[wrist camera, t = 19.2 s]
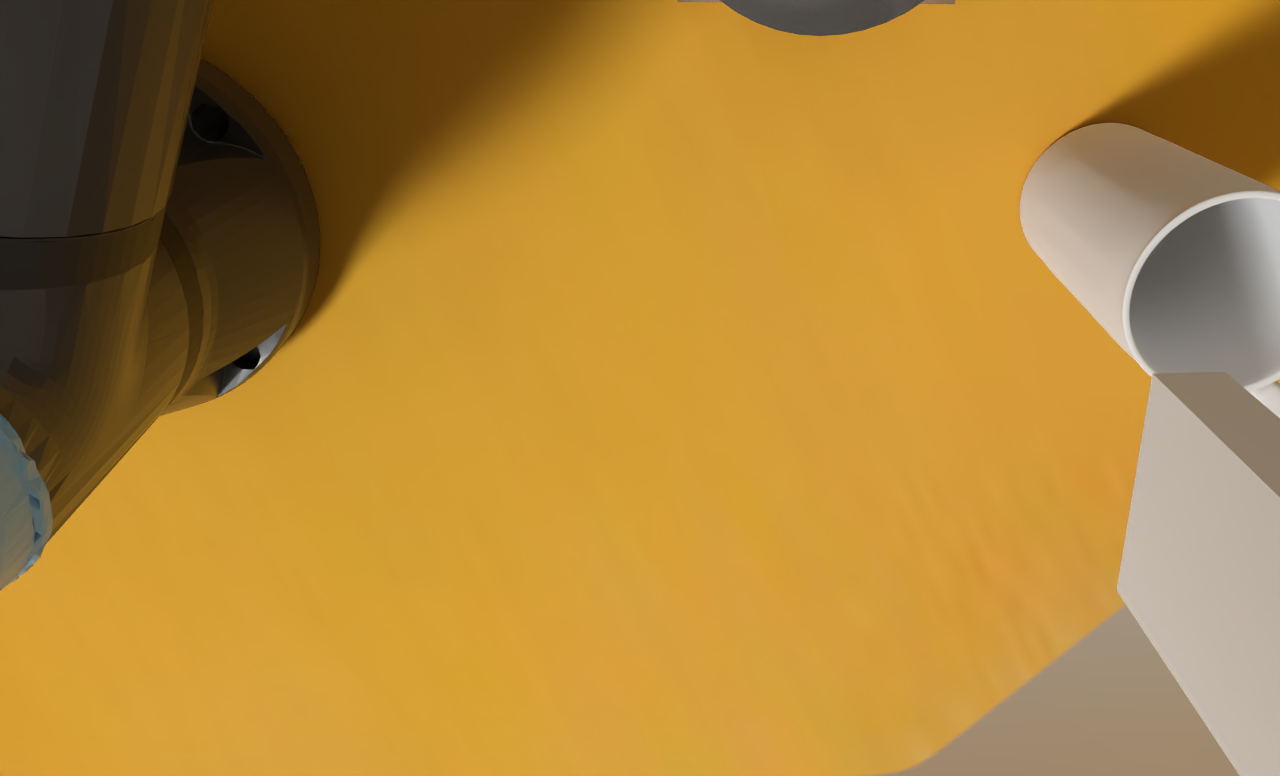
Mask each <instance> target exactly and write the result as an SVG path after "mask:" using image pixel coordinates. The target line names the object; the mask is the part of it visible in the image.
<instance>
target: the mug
mask: <svg viewBox="0 0 1280 776" xmlns="http://www.w3.org/2000/svg"><path fill="white" fill-rule="evenodd" d="M1020 220H1021V225H1022V229H1023V232H1024V235H1025V237H1026V239H1027V241H1028V243H1029V245H1030V246H1031V248H1032V249H1033V250H1034V252H1035V253H1036V254H1037V255H1038V256H1039V257H1040V258H1041V259H1042V261H1043V262H1044V263H1045V264H1046V265H1047V267H1048V268H1049V269H1050V270H1051V272H1052V273H1053V274H1054V275H1055V276H1056V277H1057V278H1058V279H1059V280H1060V281H1061V282H1062V283H1063V285H1064V286H1065V287H1066V288H1067V289H1068V290H1069V291H1070V292H1071V293H1072V294H1073V295H1074V296H1075V297H1076V298H1077V300H1078V301H1079V302H1080V303H1081V304H1082V305H1083V306H1084V307H1085V308H1086V309H1087V310H1088V312H1089V313H1090V314H1091V315H1092V316H1093V317H1094V318H1095V319H1096V320H1097V321H1098V322H1099V324H1100V325H1101V326H1102V327H1103V328H1104V329H1105V330H1106V331H1107V332H1108V333H1109V335H1110V336H1111V337H1112V338H1113V339H1114V340H1115V341H1116V342H1117V343H1118V344H1119V345H1120V346H1121V347H1122V348H1123V349H1124V350H1125V351H1126V352H1127V353H1128V354H1129V355H1130V356H1131V357H1132V358H1133V359H1135V360H1136V361H1137V362H1138V364H1139V365H1140V366H1141V367H1142V368H1143V369H1144V371H1145V372H1146V373H1148V374H1149V375H1150V376H1151V377H1152V374H1156V373H1191V372H1226V373H1227V374H1228V375H1229V376H1231V377H1232V378H1233V379H1234V380H1235V381H1236V382H1238V383H1239V384H1240V385H1241V386H1242V387H1244V388H1245V389H1246V390H1247V391H1248V392H1249V393H1251V394H1252V395H1253V396H1254V397H1255V398H1256V399H1258V400H1259V401H1260V402H1261V403H1262V404H1264V405H1265V406H1266V407H1267V408H1268V409H1269V410H1271V411H1272V412H1273V413H1274V414H1275V415H1276V416H1278V417H1279V418H1280V384H1279V383H1278V382H1277V380H1279V379H1280V191H1278V190H1276V189H1274V188H1272V187H1270V186H1268V185H1266V184H1264V183H1261V182H1259V181H1257V180H1255V179H1252V178H1250V177H1248V176H1246V175H1243V174H1241V173H1239V172H1236V171H1234V170H1232V169H1230V168H1227V167H1225V166H1223V165H1221V164H1218V163H1216V162H1214V161H1212V160H1209V159H1207V158H1205V157H1203V156H1200V155H1198V154H1196V153H1194V152H1191V151H1189V150H1187V149H1185V148H1183V147H1180V146H1178V145H1176V144H1174V143H1172V142H1170V141H1167V140H1165V139H1163V138H1160V137H1158V136H1155V135H1153V134H1151V133H1148V132H1146V131H1144V130H1142V129H1139V128H1137V127H1134V126H1130V125H1126V124H1121V123H1100V124H1093V125H1089V126H1085V127H1082V128H1079V129H1077V130H1075V131H1072V132H1070V133H1068V134H1067V135H1065V136H1063V137H1062V138H1060V139H1059V140H1057V141H1056V142H1055V143H1053V144H1052V145H1051V146H1050V147H1049V148H1048V149H1047V150H1046V151H1045V152H1044V153H1043V154H1042V155H1041V156H1040V157H1039V158H1038V160H1037V161H1036V162H1035V164H1034V165H1033V167H1032V169H1031V170H1030V172H1029V174H1028V176H1027V178H1026V181H1025V183H1024V186H1023V190H1022V194H1021V199H1020Z"/></svg>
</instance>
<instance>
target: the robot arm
mask: <svg viewBox="0 0 1280 776" xmlns="http://www.w3.org/2000/svg"><path fill="white" fill-rule="evenodd" d="M212 4H213V0H0V591H1V590H2V589H3V588H4V587H5V586H7V585H8V584H9V583H11V582H13V581H15V580H17V579H18V578H19V576H20V575H22V574H24V573H25V572H26V571H28V570H29V569H30V568H31V567H32V566H33V564H34V563H35V562H36V561H37V560H38V559H39V558H40V557H41V555H42V552H43V549H44V546H45V544H46V543H47V542H48V541H49V540H50V539H51V538H52V536H53V535H54V534H55V533H56V532H57V531H58V530H59V529H60V527H61V526H62V525H63V524H64V523H65V522H66V521H67V520H68V518H69V517H70V516H71V515H72V514H73V513H74V512H75V511H76V509H77V508H78V507H79V506H80V505H81V504H82V503H83V502H84V500H85V499H86V498H87V497H88V496H89V495H90V494H91V492H92V491H93V490H94V489H95V488H96V487H97V486H98V485H99V483H100V482H101V481H102V480H103V479H104V478H105V477H106V476H107V474H108V473H109V472H110V471H111V470H112V469H113V468H114V467H115V465H116V464H117V463H118V462H119V461H120V460H121V459H122V458H123V456H124V455H125V454H126V453H127V452H128V451H129V450H130V449H131V447H132V446H133V445H134V444H135V443H136V442H137V441H138V439H139V438H140V437H141V436H142V435H143V434H144V433H145V432H146V430H147V429H148V428H149V427H150V426H151V425H152V424H153V423H154V421H155V420H156V419H157V418H158V417H159V416H162V415H165V414H169V413H172V412H175V411H179V410H182V409H186V408H189V407H193V406H196V405H199V404H202V403H205V402H208V401H211V400H213V399H216V398H218V397H220V396H222V395H224V394H226V393H228V392H230V391H232V390H233V389H235V388H236V387H238V386H240V385H241V384H243V383H244V382H245V381H247V380H248V379H250V378H251V377H252V376H254V375H255V374H256V373H257V372H258V371H259V370H261V369H262V368H263V367H264V366H265V365H266V364H267V363H268V362H269V361H270V360H271V359H272V357H273V356H274V355H275V354H276V352H277V351H278V350H279V349H280V347H281V346H282V345H283V344H284V342H285V341H286V340H287V339H288V337H289V336H290V335H291V334H292V332H293V331H294V329H295V328H296V326H297V325H298V323H299V322H300V320H301V318H302V316H303V314H304V313H305V310H306V308H307V306H308V304H309V301H310V298H311V296H312V293H313V290H314V286H315V282H316V278H317V272H318V266H319V256H320V233H319V223H318V216H317V210H316V206H315V201H314V197H313V194H312V191H311V187H310V184H309V182H308V179H307V177H306V174H305V171H304V169H303V167H302V165H301V163H300V161H299V158H298V157H297V155H296V153H295V151H294V149H293V148H292V146H291V144H290V143H289V141H288V139H287V138H286V136H285V135H284V133H283V132H282V130H281V129H280V128H279V126H278V125H277V124H276V122H275V121H274V120H273V119H272V117H271V116H270V115H269V114H268V113H267V112H266V110H265V109H264V108H263V107H262V106H261V105H260V104H259V103H258V102H257V101H256V100H255V99H254V98H253V97H252V96H251V95H250V94H249V93H248V92H247V91H246V90H244V89H243V88H242V87H241V86H240V85H239V84H237V83H236V82H235V81H234V80H232V79H231V78H230V77H228V76H227V75H225V74H224V73H223V72H221V71H220V70H218V69H217V68H215V67H214V66H212V65H210V64H209V63H207V62H205V61H204V60H202V59H201V54H202V50H203V45H204V41H205V36H206V32H207V27H208V23H209V18H210V13H211V9H212ZM1117 592H1118V593H1119V595H1120V596H1121V598H1122V599H1123V601H1124V602H1125V604H1126V605H1127V607H1128V608H1129V610H1130V611H1131V613H1132V614H1133V616H1134V617H1135V619H1136V620H1137V622H1138V623H1139V625H1140V626H1141V628H1142V629H1143V631H1144V632H1145V634H1146V635H1147V637H1148V638H1149V640H1150V641H1151V643H1152V644H1153V646H1154V647H1155V649H1156V650H1157V652H1158V653H1159V655H1160V656H1161V658H1162V659H1163V661H1164V662H1165V664H1166V665H1167V667H1168V668H1169V670H1170V671H1171V673H1172V674H1173V676H1174V677H1175V679H1176V680H1177V682H1178V683H1179V685H1180V686H1181V688H1182V689H1183V691H1184V693H1185V694H1186V696H1187V697H1188V698H1189V700H1190V702H1191V703H1192V705H1193V706H1194V708H1195V709H1196V711H1197V712H1198V713H1199V715H1200V716H1201V718H1202V720H1203V721H1204V722H1205V724H1206V726H1207V727H1208V729H1209V730H1210V732H1211V733H1212V735H1213V736H1214V738H1215V739H1216V741H1217V742H1218V744H1219V745H1220V747H1221V748H1222V749H1223V751H1224V753H1225V754H1226V756H1227V757H1228V759H1229V760H1230V762H1231V763H1232V765H1233V766H1234V768H1235V769H1236V771H1237V772H1238V774H1239V775H1240V776H1280V418H1279V417H1278V416H1276V415H1275V414H1274V413H1273V412H1272V411H1271V410H1269V409H1268V408H1267V407H1266V406H1265V405H1264V404H1262V403H1261V402H1260V401H1259V400H1258V399H1256V398H1255V397H1254V396H1253V395H1252V394H1251V393H1249V392H1248V391H1247V390H1246V389H1245V388H1244V387H1242V386H1241V385H1240V384H1239V383H1238V382H1236V381H1235V380H1234V379H1233V378H1232V377H1231V376H1229V375H1228V374H1227V373H1226V372H1191V373H1156V374H1152V380H1151V386H1150V392H1149V398H1148V404H1147V410H1146V417H1145V423H1144V429H1143V435H1142V441H1141V447H1140V453H1139V459H1138V465H1137V471H1136V477H1135V483H1134V489H1133V495H1132V501H1131V507H1130V513H1129V519H1128V525H1127V531H1126V537H1125V543H1124V550H1123V556H1122V562H1121V568H1120V574H1119V580H1118V586H1117Z"/></svg>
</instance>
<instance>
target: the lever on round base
mask: <svg viewBox="0 0 1280 776" xmlns="http://www.w3.org/2000/svg"><path fill="white" fill-rule="evenodd" d="M720 1H722V2H723V3H724V4H726V5H727V6H729V7H730V8H731V9H733V10H734V11H736V12H737V13H739V14H741V15H743V16H745V17H747V18H749V19H750V20H752V21H754V22H756V23H759V24H762V25H765V26H767V27H770V28H773V29H776V30H780V31H785V32H789V33H794V34H800V35H815V36H826V35H840V34H847V33H851V32H856V31H861V30H865V29H868V28H871V27H874V26H877V25H880V24H883V23H886V22H888V21H890V20H892V19H894V18H896V17H898V16H900V15H902V14H904V13H906V12H908V11H909V10H911V9H912V8H914V7H915V6H917V5H918V4H920V3H922V2H923V1H925V0H720Z"/></svg>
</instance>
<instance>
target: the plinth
mask: <svg viewBox="0 0 1280 776" xmlns="http://www.w3.org/2000/svg"><path fill="white" fill-rule="evenodd" d="M678 2H722V1H720V0H678ZM920 4H955V0H925V1H923V2H922V3H920Z"/></svg>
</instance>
